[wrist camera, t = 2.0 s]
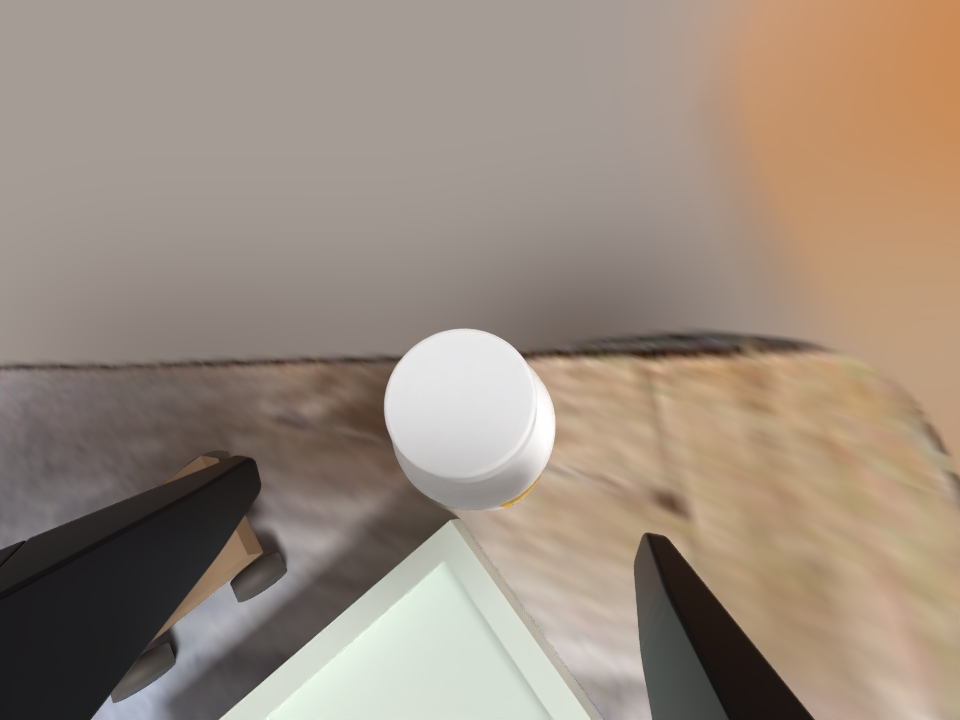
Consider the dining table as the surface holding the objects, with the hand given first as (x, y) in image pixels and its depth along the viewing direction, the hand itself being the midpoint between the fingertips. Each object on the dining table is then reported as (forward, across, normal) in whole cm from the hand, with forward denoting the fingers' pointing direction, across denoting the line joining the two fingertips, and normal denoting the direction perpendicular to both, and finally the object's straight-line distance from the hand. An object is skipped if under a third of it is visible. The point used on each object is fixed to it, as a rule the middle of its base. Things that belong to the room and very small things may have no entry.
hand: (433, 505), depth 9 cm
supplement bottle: (+9, 0, +5) cm, 10 cm away
